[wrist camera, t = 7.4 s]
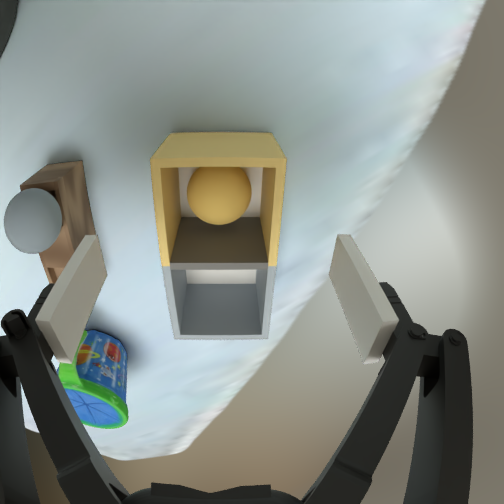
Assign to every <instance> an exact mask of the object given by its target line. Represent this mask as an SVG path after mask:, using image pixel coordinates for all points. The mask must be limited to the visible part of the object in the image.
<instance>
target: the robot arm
mask: <svg viewBox="0 0 504 504" xmlns="http://www.w3.org/2000/svg"><path fill="white" fill-rule="evenodd" d="M17 2H18V0H0V56H1V54H2V52H3V50H4V48H5V45H6V43H7V41H8V38H9V36H10V33H11V30H12V26H13V23H14V19H15V15H16V10H17ZM329 276H330V279H331V281H332V284H333V286H334V288H335V291H336V294H337V296H338V299H339V301H340V303H341V306H342V309H343V311H344V314H345V316H346V319H347V321H348V324H349V327H350V329H351V332H352V335H353V337H354V340H355V343H356V345H357V348H358V351H359V353H360V356H361V358H362V362H363V364H369V363H377V362H379V360H380V358H381V356H382V354H383V356H384V358H385V363H384V364H383V366H382V368H381V370H380V372H379V373H378V377H377V379H376V381H375V383H374V385H373V387H372V389H371V391H370V392H369V394H368V396H367V398H366V400H365V402H364V404H363V406H362V407H361V409H360V411H359V413H358V415H357V416H356V418H355V420H354V422H353V423H352V425H351V427H350V429H349V430H348V432H347V434H346V435H345V437H344V439H343V440H342V442H341V443H340V445H339V447H338V448H337V450H336V452H335V453H334V455H333V456H332V458H331V459H330V461H329V462H328V464H327V465H326V467H325V469H324V470H323V471H322V473H321V474H320V476H319V477H318V478H317V480H316V481H315V483H314V484H313V485H312V486H311V488H310V489H309V490H308V492H307V493H306V494H305V496H304V497H303V498H302V500H301V501H300V500H299V499H297V498H296V497H294V496H291V495H290V494H287V493H284V492H281V491H277V490H271V486H270V485H255V486H240V487H235V488H231V489H227V490H223V491H219V492H214V493H207V492H203V491H199V490H196V489H192V488H188V487H185V486H181V485H172V484H161V483H151V488H147V489H143V490H140V491H137V492H135V493H133V494H131V495H130V494H129V493H128V491H127V490H126V489H125V488H124V487H123V485H122V484H121V483H120V482H119V481H118V480H117V478H116V477H115V476H114V474H113V473H112V471H111V470H110V468H109V467H108V465H107V464H106V462H105V461H104V459H103V458H102V456H101V454H100V453H99V451H98V450H97V448H96V446H95V445H94V443H93V441H92V440H91V438H90V436H89V435H88V433H87V431H86V429H85V428H84V426H83V424H82V422H81V420H80V418H79V417H78V415H77V413H76V411H75V409H74V407H73V405H72V403H71V401H70V399H69V397H68V395H67V393H66V391H65V389H64V387H63V385H62V383H61V381H60V378H59V376H58V374H57V372H56V369H55V367H54V365H53V363H52V361H51V359H52V357H53V354H54V356H55V357H56V359H57V361H58V362H61V363H68V364H72V362H73V359H74V356H75V353H76V351H77V348H78V345H79V343H80V340H81V337H82V335H83V332H84V329H85V327H86V324H87V322H88V319H89V317H90V314H91V312H92V309H93V307H94V305H95V302H96V300H97V298H98V295H99V293H100V291H101V288H102V286H103V284H104V281H105V279H106V277H107V272H106V268H105V264H104V260H103V256H102V252H101V248H100V244H99V239H98V235H85V237H84V238H83V240H82V241H81V243H80V244H79V246H78V247H77V249H76V250H75V252H74V254H73V255H72V257H71V258H70V260H69V262H68V263H67V265H66V266H65V268H64V270H63V271H62V273H61V275H60V276H59V278H58V280H57V281H56V283H55V284H54V283H50V284H49V285H48V286H46V287H45V288H44V289H43V290H42V292H41V294H40V295H39V298H38V299H37V301H36V302H35V304H34V306H33V308H32V309H31V311H30V313H29V315H28V317H26V315H25V313H24V312H23V311H22V310H20V309H15V310H12V311H10V312H8V313H7V314H6V315H5V316H4V317H3V318H2V321H1V327H2V328H3V330H4V332H5V333H6V335H5V336H0V504H40V500H39V497H38V493H37V489H36V485H35V481H34V476H33V472H32V467H31V462H30V457H29V452H28V445H27V439H26V433H25V425H24V417H23V407H22V396H21V384H22V387H23V390H24V393H25V396H26V399H27V402H28V404H29V407H30V410H31V413H32V415H33V418H34V420H35V423H36V425H37V428H38V430H39V432H40V435H41V437H42V439H43V441H44V444H45V446H46V448H47V450H48V452H49V454H50V456H51V459H52V460H53V463H54V464H55V466H56V468H57V471H58V474H57V480H58V482H59V484H60V486H61V488H62V490H63V491H64V493H65V495H66V497H67V498H68V500H69V502H70V504H360V503H361V500H362V499H363V498H364V496H365V494H366V493H367V491H368V489H369V487H370V485H371V482H372V475H373V473H374V471H375V469H376V467H377V465H378V463H379V461H380V459H381V457H382V455H383V453H384V451H385V449H386V447H387V445H388V443H389V441H390V439H391V437H392V434H393V432H394V430H395V428H396V426H397V424H398V421H399V419H400V417H401V414H402V412H403V409H404V407H405V405H406V402H407V400H408V397H409V394H410V392H411V389H412V387H413V384H414V381H415V378H416V376H420V393H419V405H418V417H417V425H416V434H415V442H414V448H413V455H412V462H411V467H410V473H409V479H408V483H407V489H406V493H405V498H404V502H403V504H468V499H469V490H470V480H471V468H472V448H473V407H472V386H471V373H470V363H469V353H468V345H467V340H466V338H465V336H464V335H463V334H462V333H461V332H460V331H458V330H455V329H448V330H446V331H445V332H444V333H443V335H442V336H437V335H431V334H428V333H427V331H426V329H425V328H424V327H422V326H421V325H419V324H416V323H413V321H412V319H411V317H410V316H409V314H408V312H407V310H406V309H405V307H404V305H403V304H402V302H401V300H400V298H399V297H398V295H397V293H396V291H395V290H394V288H392V287H391V286H390V285H389V284H388V283H387V282H381V283H378V281H377V279H376V277H375V276H374V274H373V272H372V270H371V269H370V267H369V265H368V263H367V262H366V260H365V258H364V257H363V255H362V253H361V252H360V250H359V248H358V247H357V245H356V243H355V242H354V240H353V238H352V237H351V235H343V234H337V239H336V244H335V249H334V253H333V258H332V263H331V267H330V272H329Z"/></svg>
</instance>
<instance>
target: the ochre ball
mask: <svg viewBox="0 0 504 504" xmlns="http://www.w3.org/2000/svg"><path fill="white" fill-rule="evenodd" d="M251 195H252V189H251V184H250V181H249V178H248V176H247V175H246V173H245V172H244V171H243V170H242V169H241V168H240V167H199V168H198V169H197V170H196V171H195V172H194V173H193V174H192V176H191V178H190V180H189V182H188V186H187V200H188V204H189V206H190V208H191V210H192V211H193V213H194V214H195V215H196V216H197V217H198V218H200V219H201V220H203V221H205V222H207V223H210V224H214V225H224V224H228V223H231V222H233V221H235V220H237V219H238V218H240V217H241V216H242V215H243V214H244V212H245V211H246V210H247V208H248V206H249V204H250V201H251Z"/></svg>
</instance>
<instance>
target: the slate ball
mask: <svg viewBox="0 0 504 504" xmlns="http://www.w3.org/2000/svg"><path fill="white" fill-rule="evenodd" d="M61 226H62V214H61V210H60V207H59V204H58V202H57V201H56V199H55V198H54V197H53V196H52V195H51V194H50V193H48V192H47V191H45V190H42V189H38V188H30V189H26V190H23V191H21V192H20V193H18V194H17V195H16V196H14V198H13V199H12V200H11V201H10V203H9V204H8V206H7V209H6V212H5V216H4V228H5V233H6V235H7V238H8V239H9V241H10V242H11V244H12V245H13V246H14V247H15V248H16V249H18V250H19V251H22V252H24V253H28V254H36V253H40V252H42V251H45V250H46V249H48V248H49V247H50V246H51V245H52V244H53V243H54V242H55V241H56V239H57V238H58V236H59V233H60V230H61Z"/></svg>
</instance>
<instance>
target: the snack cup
mask: <svg viewBox="0 0 504 504" xmlns="http://www.w3.org/2000/svg"><path fill="white" fill-rule="evenodd" d="M56 372H57V374H58V376H59V378H60V381H61V383H62V385H63V387H64V389H65V391H66V393H67V395H68V397H69V399H70V401H71V403H72V405H73V407H74V409H75V411H76V413H77V415H78V417H79V418H80V420H81V422H82V424H85V425H88V426H92V427H97V428H105V429H114V428H119V427H122V426H123V425H125V424H126V423H127V421H128V408H127V404H126V388H127V376H126V375H127V353H126V351H125V349H124V347H123V346H122V344H121V342H120V341H119V340H118V339H114V338H113V337H111V336H109V335H107V334H104V333H102V332H98V331H96V330H90V331H86V330H84V332H83V335H82V337H81V340H80V343H79V345H78V348H77V351H76V353H75V356H74V359H73V362H72V364H68V363H61V362H60V364H59V367H58V369H57V371H56Z"/></svg>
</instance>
